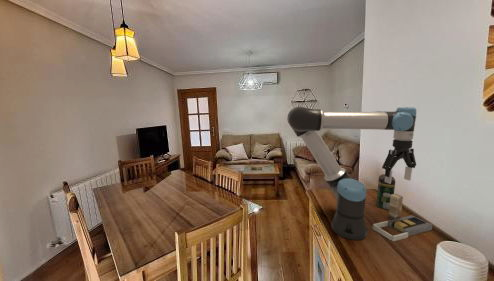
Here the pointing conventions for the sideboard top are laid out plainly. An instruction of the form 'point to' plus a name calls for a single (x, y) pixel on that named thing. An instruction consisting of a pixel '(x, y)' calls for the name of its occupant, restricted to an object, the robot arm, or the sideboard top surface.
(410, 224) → the olive small block
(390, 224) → the grey shallow tray
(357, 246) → the sideboard top surface
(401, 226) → the chip
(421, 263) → the sideboard top surface
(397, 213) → the beige tall block
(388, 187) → the coffee jar
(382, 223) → the white u-shaped frame
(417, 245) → the sideboard top surface
